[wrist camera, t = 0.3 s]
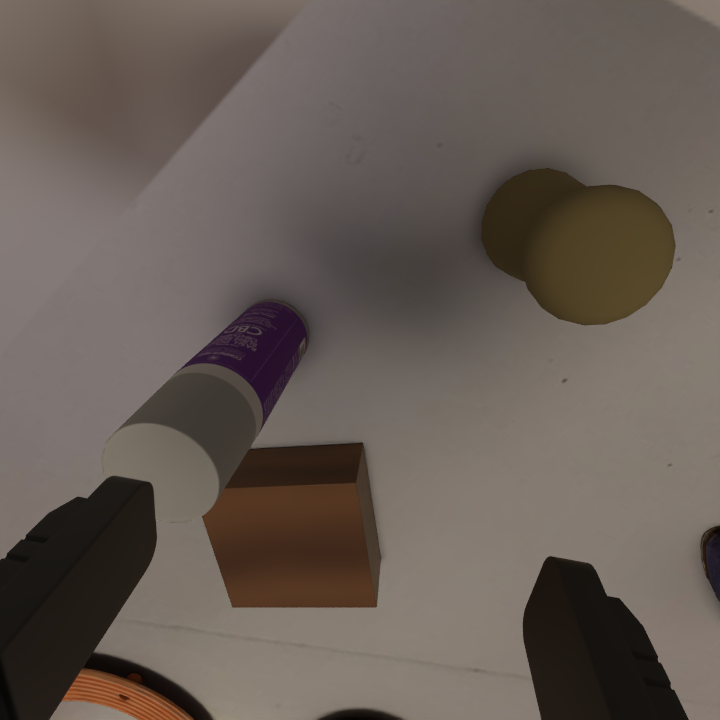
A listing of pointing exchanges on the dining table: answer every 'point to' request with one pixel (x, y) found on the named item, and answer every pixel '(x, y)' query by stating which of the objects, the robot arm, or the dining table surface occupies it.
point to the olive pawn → (579, 244)
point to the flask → (712, 558)
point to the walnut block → (297, 529)
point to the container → (209, 412)
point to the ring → (123, 696)
